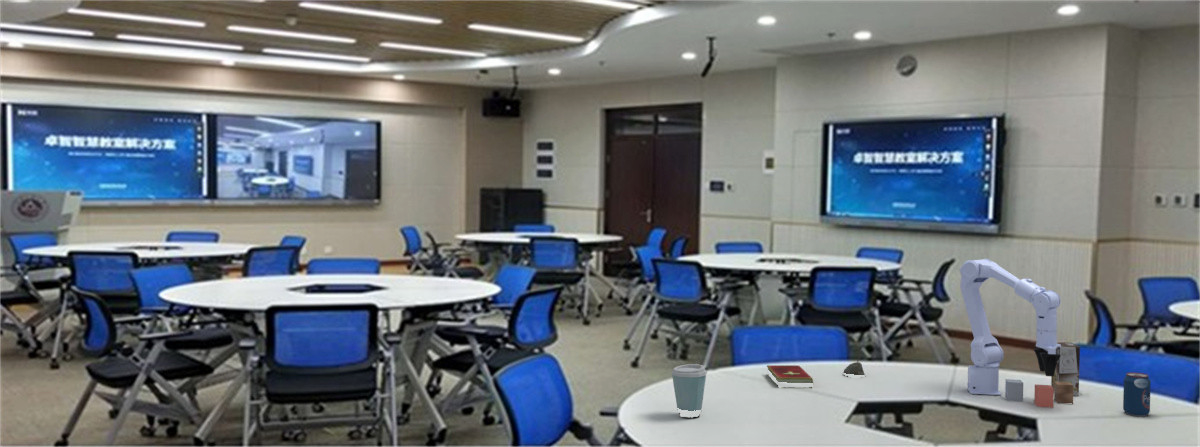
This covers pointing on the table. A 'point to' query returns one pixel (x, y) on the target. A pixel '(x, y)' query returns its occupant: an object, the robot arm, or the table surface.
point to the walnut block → (1063, 392)
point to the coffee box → (1067, 365)
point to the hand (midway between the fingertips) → (1046, 373)
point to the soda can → (1136, 394)
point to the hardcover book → (789, 374)
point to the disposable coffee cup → (689, 386)
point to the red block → (1043, 395)
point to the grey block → (1013, 390)
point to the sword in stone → (855, 367)
